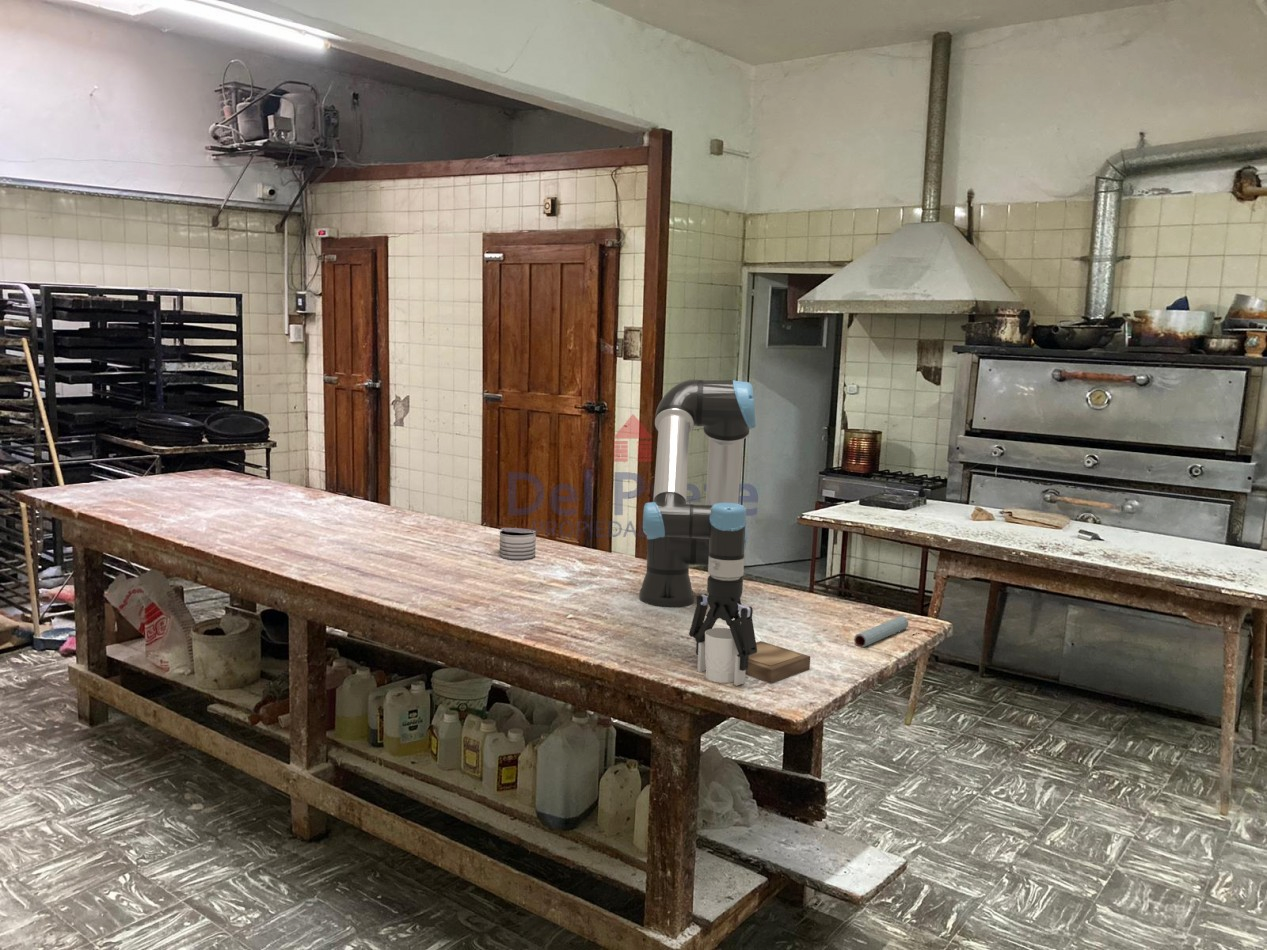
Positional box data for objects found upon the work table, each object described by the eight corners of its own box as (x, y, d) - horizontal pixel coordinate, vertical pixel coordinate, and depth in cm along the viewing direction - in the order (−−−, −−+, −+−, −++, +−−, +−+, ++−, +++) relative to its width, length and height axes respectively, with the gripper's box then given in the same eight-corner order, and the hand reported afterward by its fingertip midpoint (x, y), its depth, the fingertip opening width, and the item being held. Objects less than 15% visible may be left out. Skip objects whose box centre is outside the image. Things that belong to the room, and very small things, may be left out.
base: (721, 666, 211) (721, 652, 211) (760, 653, 221) (760, 640, 220) (771, 683, 201) (771, 669, 201) (809, 669, 211) (810, 655, 210)
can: (492, 564, 299) (492, 527, 297) (521, 560, 307) (521, 523, 305) (513, 571, 291) (513, 533, 289) (542, 566, 298) (543, 529, 297)
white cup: (698, 681, 201) (700, 635, 200) (708, 669, 209) (710, 625, 207) (734, 686, 199) (736, 641, 197) (743, 675, 206) (745, 630, 205)
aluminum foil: (896, 627, 247) (896, 614, 246) (920, 633, 242) (921, 620, 242) (853, 646, 230) (854, 632, 230) (878, 652, 226) (879, 638, 225)
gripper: (675, 568, 206) (671, 667, 209) (755, 589, 190) (750, 696, 193) (698, 563, 211) (694, 660, 214) (778, 584, 195) (772, 687, 198)
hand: (720, 677), depth 203 cm, fingers open, 10 cm apart
